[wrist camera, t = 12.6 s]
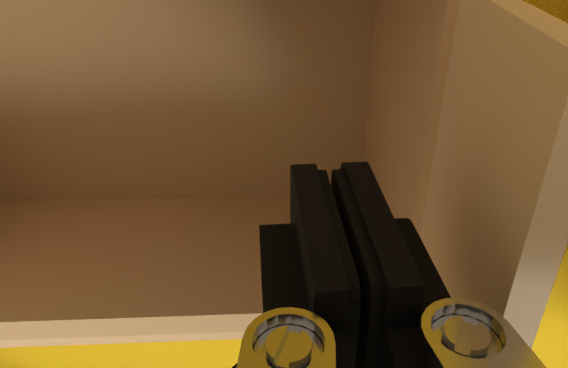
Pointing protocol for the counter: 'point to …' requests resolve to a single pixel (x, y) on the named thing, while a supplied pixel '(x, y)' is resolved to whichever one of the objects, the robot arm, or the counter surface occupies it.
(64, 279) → the carton
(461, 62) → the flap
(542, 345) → the counter surface
